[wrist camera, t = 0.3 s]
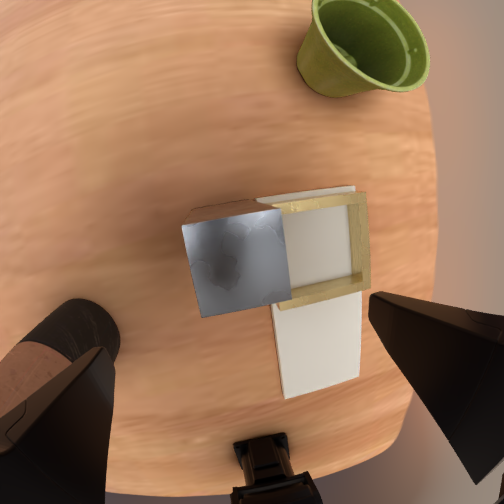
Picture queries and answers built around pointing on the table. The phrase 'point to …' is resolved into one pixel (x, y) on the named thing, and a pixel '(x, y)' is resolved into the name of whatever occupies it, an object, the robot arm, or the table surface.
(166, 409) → the table surface
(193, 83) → the table surface
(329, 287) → the frame
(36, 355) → the travel mug
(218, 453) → the table surface
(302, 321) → the door board
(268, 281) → the block
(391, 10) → the plant pot
